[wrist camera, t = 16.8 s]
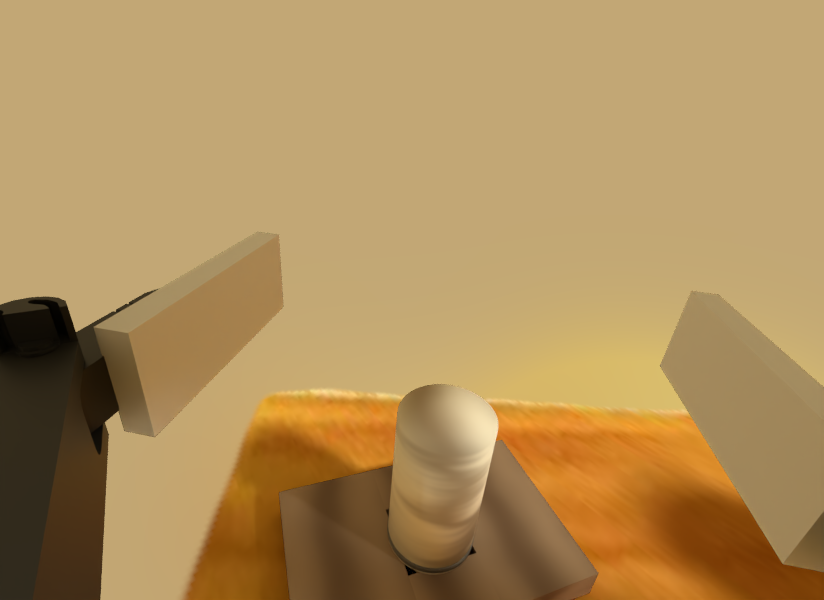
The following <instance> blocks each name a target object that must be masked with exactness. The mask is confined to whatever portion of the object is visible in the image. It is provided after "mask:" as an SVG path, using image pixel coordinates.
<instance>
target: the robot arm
mask: <svg viewBox="0 0 824 600" xmlns="http://www.w3.org/2000/svg"><path fill="white" fill-rule="evenodd" d="M282 308H283V292H282V276H281V262H280V244H279V235H278V234H270V233H263V232H256V233H255V234H253V235H251V236H249V237H248V238H246V239H244V240H243V241H241V242H239V243H237V244H236V245H234V246H232V247H231V248H229V249H227V250H225V251H224V252H222V253H220V254H218V255H217V256H215V257H214V258H212V259H210V260H208V261H206V262H205V263H203V264H201V265H200V266H198V267H196V268H194V269H193V270H191V271H189V272H188V273H186V274H184V275H182V276H181V277H179V278H177V279H175V280H174V281H172V282H171V283H169V284H167V285H165V286H164V287H162V288H160V289H157V290H154V291H151V292H147V293H145V294H143V295H142V296H139V297H138V298H136V299H134V300H132V301H131V302H129V304H125V305H124V306H122V307H120V308H118V309H117V310H116V312H111V313H109V314H108V315H106V316H104V317H102V318H101V319H99V320H97V321H95V322H94V323H92V324H90V325H89V326H87V327H85V328H83V329H81V330H80V331H78V332H75V329H74V325H73V322H72V319H71V316H70V313H69V310H68V307H67V304H66V301H64V300H62V299H60V298H55V297H32V298H26V299H20V300H15V301H11V302H8V303H4V304H2V305H0V600H100V594H101V574H102V553H103V535H104V515H105V495H106V476H107V475H106V474H107V455H108V435H109V434H108V431H107V428H106V425H105V421H106V420H108V419H109V418H110V417H111V416H113V415H114V414H115V413H116V412H117V411H119V414H120V418H121V421H122V424H123V428H124V431H127V432H132V433H137V434H142V435H147V436H152V437H156V436H157V435H158V433H160V432H161V430H162V429H164V427H166V425H167V424H168V423H169V422H170V421H171V420H172V419H173V418H174V417H175V416H176V415H177V414H178V413H179V412H180V411H181V410H182V409H183V408H184V407H185V406H186V405H187V404H188V403H189V402H190V401H191V400H192V399H193V398H194V397H195V396H196V395H197V394H198V393H199V392H200V391H201V390H202V389H203V388H204V387H205V386H206V385H207V384H208V383H209V382H210V381H211V380H212V379H213V378H214V377H215V376H216V375H217V374H218V373H219V372H220V371H221V370H222V369H223V368H224V367H225V366H226V365H227V364H228V363H229V362H230V360H231V359H233V358H234V357H235V356H236V355H237V354H238V352H240V351H241V349H242V348H243V347H244V346H245V345H246V344H247V343H248V342H249V341H250V340H251V339H252V338H253V337H254V336H255V335H256V334H257V333H258V332H259V331H260V330H261V329H262V328H263V327H264V326H265V325H266V324H267V323H268V322H269V321H270V320H271V319H272V318H273V317H274V316H275V315H276V314H277V313H278V312H279V311H280V310H281V309H282ZM660 367H661V368H662V370H663V372H664V373H665V375H666V377H667V378H668V380H669V382H670V383H671V384H672V386H673V388H674V390H675V391H676V393H677V394H678V396H679V398H680V399H681V401H682V402H683V404H684V406H685V407H686V409H687V411H688V412H689V414H690V415H691V417H692V419H693V420H694V422H695V423H696V425H697V427H698V428H699V430H700V432H701V433H702V435H703V436H704V438H705V440H706V441H707V443H708V444H709V446H710V448H711V449H712V451H713V452H714V454H715V456H716V457H717V459H718V461H719V462H720V464H721V465H722V467H723V469H724V470H725V472H726V473H727V475H728V477H729V478H730V480H731V482H732V483H733V485H734V486H735V488H736V490H737V491H738V493H739V494H740V496H741V498H742V499H743V501H744V502H745V504H746V506H747V507H748V509H749V511H750V512H751V514H752V515H753V517H754V519H755V520H756V522H757V523H758V525H759V527H760V528H761V530H762V532H763V533H764V535H765V536H766V538H767V540H768V541H769V543H770V544H771V546H772V548H773V549H774V551H775V552H776V554H777V556H778V557H779V559H780V561H781V562H782V564H785V565H790V566H795V567H800V568H805V569H810V570H815V571H820V572H824V387H823V386H822V385H820V384H819V383H818V382H817V381H816V380H815V379H814V378H812V376H810V375H809V374H808V373H807V372H806V371H805V370H803V369H802V368H801V367H800V366H799V365H798V364H797V363H796V362H795V361H793V360H792V359H791V358H790V357H789V356H788V355H787V354H785V353H784V352H783V351H782V350H781V349H780V348H779V347H777V346H776V345H775V344H774V343H773V342H772V341H771V340H770V339H768V338H767V337H766V336H765V335H764V334H762V332H760V331H759V330H758V329H757V328H756V327H755V326H754V325H752V324H751V323H750V322H749V321H748V320H747V319H746V318H744V317H743V316H742V315H741V314H740V313H739V312H738V311H737V310H735V309H734V308H733V307H732V306H731V305H730V304H729V303H727V302H726V301H725V300H724V299H723V298H722V297H721V296H720V295H718V294H711V293H703V292H696V291H691V293H690V295H689V298H688V300H687V303H686V305H685V308H684V310H683V312H682V314H681V317H680V319H679V322H678V324H677V326H676V329H675V331H674V334H673V336H672V338H671V341H670V343H669V346H668V348H667V350H666V353H665V355H664V358H663V360H662V362H661V365H660Z"/></svg>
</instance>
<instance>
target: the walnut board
mask: <svg viewBox="0 0 824 600" xmlns="http://www.w3.org/2000/svg"><path fill="white" fill-rule="evenodd" d="M392 471H393V466H388V467H384V468H380V469H376V470H371V471H367V472H363V473H359V474H354V475H350V476H346V477H341V478H337V479H333V480H329V481H324V482H320V483H316V484H312V485H307V486H303V487H299V488H295V489H290V490H286V491H282V492H279V499H280V511H281V521H282V530H283V540H284V550H285V560H286V569H287V579H288V589H289V599H290V600H573V599H575V598H578V597H580V596H582V595H585V594H587V593H590V591H591V588H592V586H593V584H594V582H595V580H596V578H597V576H598V572H597V571H596V569H595V568H594V566H593V565H592V564H591V562H590V561H589V560H588V558H587V557H586V555H585V554H584V553H583V551H582V550H581V548H580V547H579V546H578V544H577V543H576V542H575V540H574V539H573V537H572V536H571V535H570V533H569V532H568V531H567V529H566V528H565V526H564V525H563V524H562V522H561V521H560V519H559V518H558V517H557V515H556V514H555V513H554V511H553V510H552V508H551V507H550V506H549V504H548V503H547V502H546V500H545V499H544V497H543V496H542V495H541V493H540V492H539V490H538V489H537V488H536V486H535V485H534V484H533V482H532V481H531V479H530V478H529V477H528V475H527V474H526V473H525V471H524V470H523V468H522V467H521V466H520V464H519V463H518V461H517V460H516V459H515V457H514V456H513V455H512V453H511V452H510V450H509V449H508V448H507V446H506V445H505V444H504V442H503V441H502V440H499V441H495V446H494V450H493V454H492V459H491V463H490V467H489V472H488V476H487V481H486V485H485V489H484V494H483V498H482V503H481V507H480V511H479V516H478V520H477V524H476V529H475V533H474V541H473V545H472V548H471V551H470V553H469V555H468V556H467V558H466V560H465V561H464V562H463V563H462V564H461V565H460V566H459V567H457V568H456V569H454V570H452V571H450V572H447V573H444V574H437V575H430V574H424V573H420V572H418V573H415V574H412V575H409V576H408V573H407V570H406V567H405V564H404V563H403V562H401V560H400V559H399V558H398V557H397V556H396V555H395V553H394V551H393V550H392V548H391V545H390V543H389V539H388V533H387V523H388V516H389V507H390V495H391V483H392Z"/></svg>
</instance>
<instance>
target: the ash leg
mask: <svg viewBox="0 0 824 600" xmlns="http://www.w3.org/2000/svg"><path fill="white" fill-rule="evenodd" d="M497 432H498V419H497V416H496V414H495V412H494V410H493V409H492V407H491V406H490V405H489V404H488V403H487V402H486V401H485V400H484V399H483V398H481V397H480V396H479V395H477V394H475V393H473V392H471V391H469V390H467V389H464V388H461V387H458V386H453V385H445V384H434V385H427V386H423V387H420V388H417V389H415V390H413V391H411V392H410V393H408V394H407V395H406V396H405V397H404V398H403V399H402V401H401V402H400V405H399V407H398V412H397V424H396V436H395V448H394V460H393V471H392V483H391V495H390V507H389V516H388V523H387V533H388V539H389V543H390V545H391V548H392V550H393V551H394V553H395V555H396V556H397V557H398V558H399V559H400V560H401V562H403V563H404V564H405V565H406V566H408V567H409V568H411V569H413V570H415V571H417V572H420V573H424V574H430V575H437V574H444V573H447V572H450V571H452V570H454V569H456V568H457V567H459V566H460V565H461V564H462V563H463V562H464V561H465V560H466V558H467V556H468V555H469V553H470V551H471V548H472V545H473V541H474V533H475V529H476V524H477V520H478V516H479V511H480V507H481V503H482V498H483V494H484V489H485V485H486V481H487V476H488V472H489V467H490V463H491V459H492V454H493V450H494V446H495V441H496V437H497Z"/></svg>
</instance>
